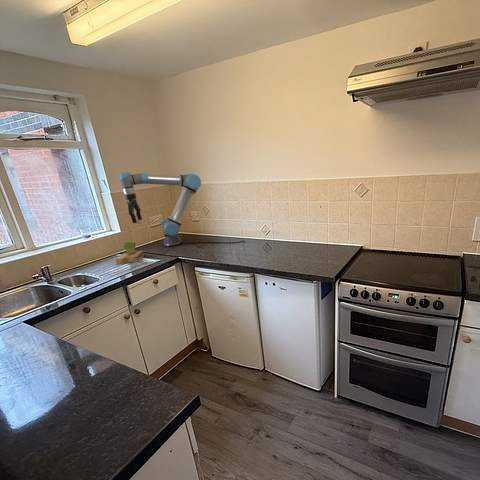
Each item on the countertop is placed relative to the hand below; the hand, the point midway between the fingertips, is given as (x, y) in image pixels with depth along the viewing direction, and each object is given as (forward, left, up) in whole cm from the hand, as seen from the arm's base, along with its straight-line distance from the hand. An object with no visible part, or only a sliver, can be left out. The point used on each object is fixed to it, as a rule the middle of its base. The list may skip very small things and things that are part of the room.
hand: (137, 221), depth 235 cm
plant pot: (+8, +9, -23) cm, 26 cm away
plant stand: (+8, +13, -27) cm, 31 cm away
